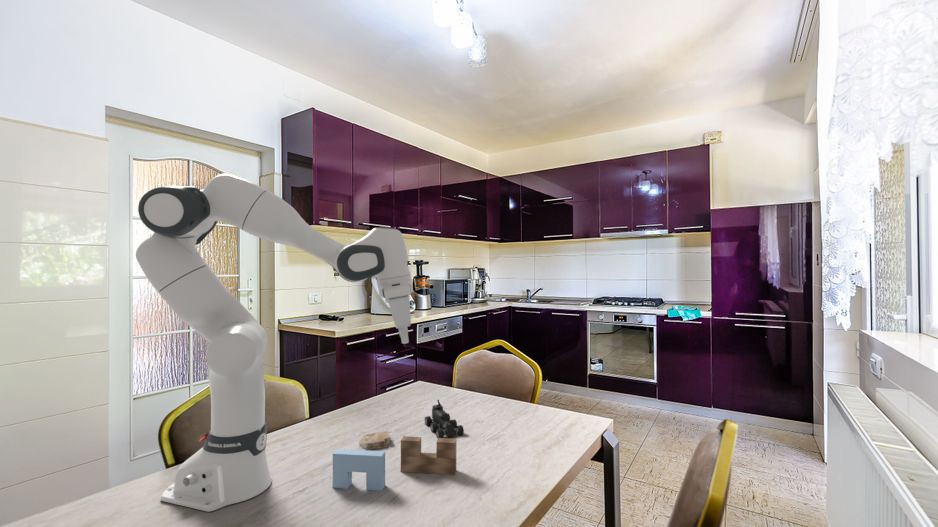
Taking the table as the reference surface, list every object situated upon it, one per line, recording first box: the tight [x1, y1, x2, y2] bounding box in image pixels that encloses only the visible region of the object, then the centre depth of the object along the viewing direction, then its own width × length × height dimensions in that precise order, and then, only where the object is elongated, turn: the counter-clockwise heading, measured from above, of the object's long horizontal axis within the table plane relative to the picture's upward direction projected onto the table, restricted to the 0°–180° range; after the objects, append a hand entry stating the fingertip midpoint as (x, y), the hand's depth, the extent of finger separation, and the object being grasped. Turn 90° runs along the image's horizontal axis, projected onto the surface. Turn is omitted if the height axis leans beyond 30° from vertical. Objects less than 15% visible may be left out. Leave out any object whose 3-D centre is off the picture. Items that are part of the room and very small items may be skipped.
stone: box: [358, 430, 391, 451], centre depth 119 cm, size 9×6×3 cm
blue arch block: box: [332, 448, 386, 492], centre depth 96 cm, size 12×2×8 cm, turn 84°
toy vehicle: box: [424, 399, 465, 439], centre depth 130 cm, size 8×15×9 cm, turn 24°
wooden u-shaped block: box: [400, 435, 457, 476], centre depth 103 cm, size 14×2×8 cm, turn 84°
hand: (404, 339), depth 106 cm, fingers open, 8 cm apart
